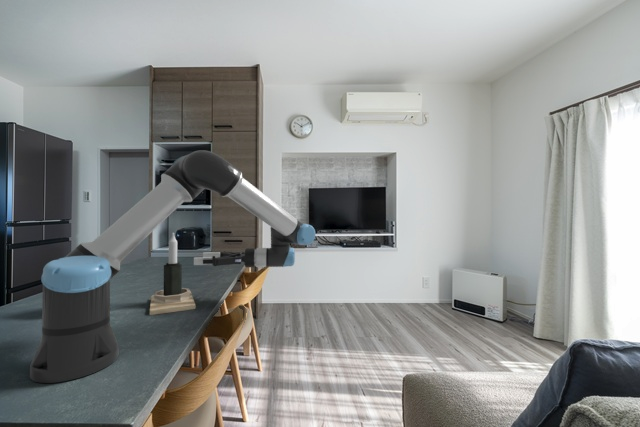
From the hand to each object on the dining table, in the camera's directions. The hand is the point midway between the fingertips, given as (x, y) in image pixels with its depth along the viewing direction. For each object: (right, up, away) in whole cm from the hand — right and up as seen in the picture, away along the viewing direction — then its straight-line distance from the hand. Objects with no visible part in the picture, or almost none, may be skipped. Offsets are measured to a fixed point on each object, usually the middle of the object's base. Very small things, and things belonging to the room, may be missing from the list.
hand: (198, 258), depth 112 cm
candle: (-9, -15, -1) cm, 18 cm away
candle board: (-9, -17, -3) cm, 19 cm away
